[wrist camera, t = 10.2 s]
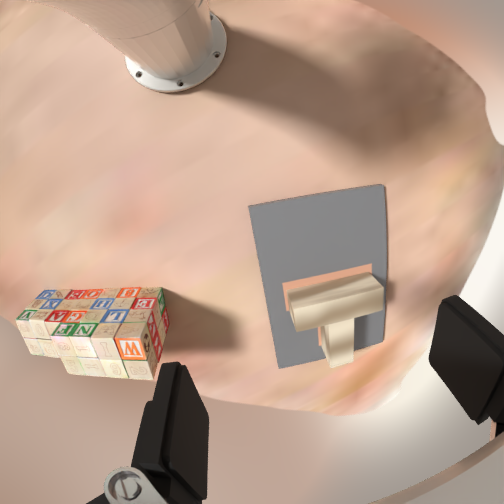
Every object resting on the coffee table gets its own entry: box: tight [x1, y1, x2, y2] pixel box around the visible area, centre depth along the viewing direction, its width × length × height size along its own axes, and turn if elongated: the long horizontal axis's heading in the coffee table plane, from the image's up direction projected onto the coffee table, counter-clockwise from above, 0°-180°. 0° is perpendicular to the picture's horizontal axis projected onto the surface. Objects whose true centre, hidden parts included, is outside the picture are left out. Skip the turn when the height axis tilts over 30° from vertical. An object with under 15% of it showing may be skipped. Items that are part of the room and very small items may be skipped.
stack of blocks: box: [16, 287, 169, 380], centre depth 34 cm, size 21×6×12 cm, turn 92°
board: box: [248, 184, 387, 369], centre depth 40 cm, size 26×18×1 cm
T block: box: [286, 272, 384, 368], centre depth 39 cm, size 12×12×5 cm
